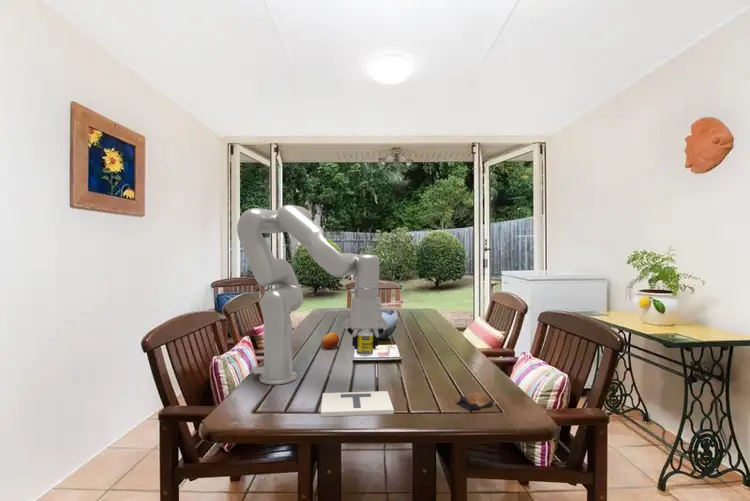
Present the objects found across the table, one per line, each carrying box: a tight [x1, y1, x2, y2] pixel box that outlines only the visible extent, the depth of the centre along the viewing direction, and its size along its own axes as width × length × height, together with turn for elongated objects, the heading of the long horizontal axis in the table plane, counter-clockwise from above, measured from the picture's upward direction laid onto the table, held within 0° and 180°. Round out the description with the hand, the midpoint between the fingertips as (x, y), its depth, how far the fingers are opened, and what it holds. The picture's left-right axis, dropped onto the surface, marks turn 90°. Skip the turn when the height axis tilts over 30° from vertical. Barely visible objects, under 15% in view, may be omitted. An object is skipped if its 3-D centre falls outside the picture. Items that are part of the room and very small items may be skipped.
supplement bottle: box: [355, 329, 375, 357], centre depth 130 cm, size 5×5×10 cm
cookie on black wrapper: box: [455, 391, 497, 412], centre depth 118 cm, size 11×8×4 cm
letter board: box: [320, 390, 395, 418], centre depth 117 cm, size 20×14×1 cm
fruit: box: [320, 332, 340, 350], centre depth 181 cm, size 8×8×8 cm
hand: (364, 347), depth 130 cm, fingers closed on supplement bottle, 5 cm apart
